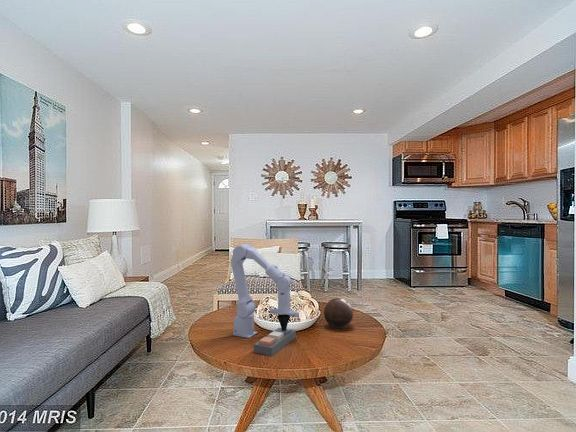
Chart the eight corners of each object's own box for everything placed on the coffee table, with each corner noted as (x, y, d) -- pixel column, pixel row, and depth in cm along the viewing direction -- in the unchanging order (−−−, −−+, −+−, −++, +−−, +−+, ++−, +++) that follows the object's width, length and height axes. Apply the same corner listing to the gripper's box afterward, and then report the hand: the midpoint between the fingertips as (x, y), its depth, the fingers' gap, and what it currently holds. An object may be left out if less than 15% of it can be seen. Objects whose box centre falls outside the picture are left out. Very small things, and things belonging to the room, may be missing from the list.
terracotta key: (259, 346, 148) (259, 340, 148) (265, 342, 153) (265, 336, 152) (269, 348, 146) (269, 342, 146) (275, 344, 150) (275, 338, 150)
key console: (253, 352, 148) (253, 344, 148) (279, 334, 169) (279, 327, 169) (271, 356, 144) (271, 347, 144) (295, 337, 165) (295, 330, 165)
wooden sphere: (355, 332, 172) (355, 302, 172) (325, 332, 173) (325, 302, 172) (350, 322, 187) (350, 295, 187) (322, 322, 188) (322, 295, 187)
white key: (268, 340, 155) (268, 334, 155) (273, 336, 160) (273, 331, 160) (278, 341, 153) (278, 336, 153) (283, 338, 158) (283, 332, 157)
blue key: (276, 336, 162) (276, 330, 162) (281, 332, 167) (281, 327, 167) (286, 338, 160) (286, 332, 160) (291, 334, 165) (291, 329, 165)
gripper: (266, 301, 163) (266, 330, 163) (294, 305, 157) (294, 335, 157) (273, 298, 169) (273, 326, 169) (300, 301, 163) (300, 330, 163)
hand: (284, 330), depth 164 cm, fingers closed, pressing on blue key
